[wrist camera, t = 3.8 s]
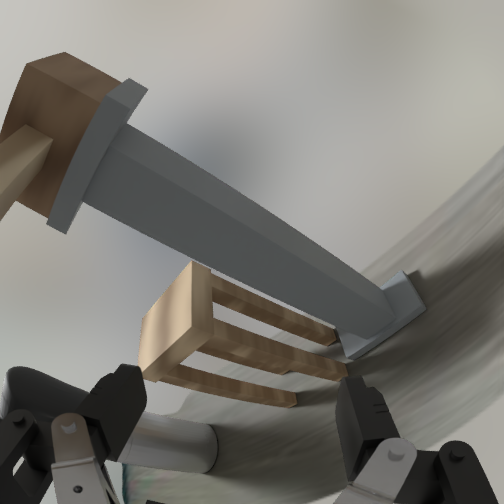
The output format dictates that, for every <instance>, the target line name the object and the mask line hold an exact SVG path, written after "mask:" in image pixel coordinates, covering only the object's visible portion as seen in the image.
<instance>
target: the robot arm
mask: <svg viewBox="0 0 504 504" xmlns="http://www.w3.org/2000/svg"><path fill="white" fill-rule="evenodd" d="M146 403H147V395H146V390H145V385H144V381H143V375H142V371H141V368H140V367H139V366H134V365H127V364H121V365H120V366H119V367H118V369H117V370H116V371H115V372H114V374H113V373H109V374H108V375H106V376H104V377H103V378H101V379H100V380H99V381H98V383H97V384H96V385H95V388H93V389H92V390H91V391H90V393H89V392H86V391H84V390H82V389H79V388H76V387H74V386H71V385H69V384H67V383H64V382H62V381H60V380H58V379H55V378H53V377H51V376H49V375H47V374H45V373H42V372H40V371H37V370H35V369H31V368H28V367H22V366H19V367H18V366H17V367H13V368H11V369H9V370H8V372H7V373H6V375H5V379H4V383H3V389H2V396H1V403H0V504H40V502H41V500H42V498H43V497H44V495H45V493H46V491H47V489H48V488H49V486H50V484H51V482H52V481H54V487H55V492H56V497H57V502H58V504H120V503H119V501H118V498H117V496H116V493H115V490H114V488H113V485H112V482H111V480H110V477H109V474H108V471H107V468H106V466H105V464H104V462H105V460H110V461H114V462H120V463H125V464H131V465H136V466H142V467H149V468H156V469H163V470H172V471H181V472H192V473H206V472H207V471H209V470H210V469H211V468H212V466H213V465H214V462H215V460H216V456H217V449H218V446H217V438H216V435H215V432H214V430H213V429H212V428H211V426H209V425H207V424H203V423H197V422H191V421H186V420H181V419H176V418H171V417H167V416H162V415H158V414H153V413H149V412H145V411H144V410H145V407H146ZM335 415H336V423H337V428H338V433H339V437H340V442H341V447H342V452H343V457H344V462H345V467H346V473H347V478H348V481H354V482H353V483H352V484H349V485H348V486H347V487H346V488H345V489H344V491H343V492H342V493H341V494H340V496H339V497H338V498H337V500H336V501H335V502H334V503H333V504H393V503H395V504H498V501H497V499H496V497H495V494H494V492H493V490H492V488H491V486H490V483H489V481H488V479H487V477H486V475H485V473H484V470H483V468H482V466H481V464H480V462H479V460H478V458H477V456H476V454H475V452H474V450H473V449H472V447H471V446H470V445H469V444H467V443H465V442H462V441H449V442H447V443H445V444H444V445H443V446H442V447H441V448H440V450H439V451H421V450H416V448H415V446H414V445H413V444H412V443H411V442H410V441H408V440H405V439H402V438H400V436H399V433H398V431H397V428H396V426H395V424H394V421H393V419H392V417H391V414H390V412H389V409H388V407H387V405H386V403H385V400H384V398H383V396H382V394H381V393H380V392H379V391H377V390H376V389H375V388H374V387H370V388H366V386H365V383H364V380H363V378H362V376H348V377H342V379H341V383H340V389H339V394H338V399H337V404H336V412H335ZM22 456H23V458H24V461H23V463H22V464H21V466H20V467H19V469H18V470H17V472H16V473H15V475H14V476H13V468H14V466H15V465H16V463H17V462H18V460H19V459H20V458H21V457H22ZM146 504H164V503H159V502H155V501H150V500H147V501H146Z"/></svg>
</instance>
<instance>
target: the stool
mask: <svg viewBox="0 0 504 504" xmlns="http://www.w3.org/2000/svg"><path fill="white" fill-rule="evenodd" d="M212 301H213V302H215V303H218V304H220V305H222V306H225V307H227V308H229V309H232V310H234V311H237V312H239V313H242V314H244V315H246V316H249V317H252V318H254V319H256V320H259V321H262V322H264V323H267V324H269V325H272V326H274V327H277V328H279V329H282V330H284V331H287V332H290V333H292V334H295V335H297V336H300V337H303V338H305V339H308V340H311V341H314V342H316V343H319V344H322V345H325V346H328V345H330V344H331V343H332V342H334V341H335V340H337V339H336V336H335V333H334V330H333V329H332V328H330V327H327V326H325V325H323V324H321V323H318V322H316V321H314V320H311V319H309V318H307V317H305V316H302V315H300V314H298V313H296V312H293V311H291V310H289V309H287V308H285V307H282V306H280V305H278V304H276V303H273V302H272V301H269V300H267V299H265V298H263V297H261V296H258V295H256V294H254V293H252V292H250V291H248V290H245V289H243V288H241V287H239V286H237V285H235V284H233V283H231V282H229V281H226V280H224V279H222V278H220V277H218V276H216V275H214V274H212V273H211V270H210V269H209V268H207V267H204V266H203V265H200V264H198V263H196V262H194V261H191V262H190V263H189V264H188V265H187V266H186V268H185V269H184V270H183V271H182V272H181V274H180V275H179V276H178V277H177V278H176V279H175V280H174V282H173V283H172V284H171V285H170V286H169V287H168V289H167V290H166V291H165V292H164V293H163V294H162V296H161V297H160V298H159V299H158V300H157V302H156V303H155V304H154V305H153V306H152V308H151V309H150V310H149V311H148V312H147V314H146V315H145V316H144V317H143V318H142V327H141V335H140V345H139V356H138V366H139V367H140V368H141V371H142V375H143V379H145V380H149V381H152V382H155V383H156V382H157V381H162V382H165V383H169V384H173V385H176V386H180V387H184V388H188V389H192V390H196V391H200V392H204V393H209V394H213V395H217V396H222V397H227V398H232V399H237V400H242V401H247V402H253V403H259V404H264V405H271V406H277V407H284V408H290V407H292V406H294V405H296V404H297V399H296V395H295V392H290V391H285V390H280V389H275V388H270V387H265V386H261V385H256V384H252V383H248V382H243V381H239V380H235V379H231V378H227V377H223V376H219V375H216V374H212V373H208V372H205V371H201V370H197V369H194V368H191V367H187V366H184V365H181V364H180V363H181V362H182V361H183V360H184V359H186V358H187V357H188V356H189V355H191V354H192V353H193V352H194V351H199V352H202V353H205V354H208V355H211V356H215V357H218V358H221V359H225V360H228V361H231V362H235V363H238V364H242V365H245V366H249V367H252V368H256V369H260V370H264V371H267V372H271V373H275V374H279V375H283V374H284V373H286V372H288V371H289V370H291V371H295V372H299V373H303V374H307V375H311V376H315V377H319V378H324V379H328V380H332V381H337V382H338V381H340V380H341V379H342V377H347V376H348V372H347V369H346V366H345V363H342V362H338V361H335V360H332V359H329V358H326V357H322V356H319V355H316V354H313V353H310V352H307V351H304V350H301V349H298V348H295V347H292V346H289V345H286V344H283V343H280V342H277V341H275V340H272V339H269V338H266V337H263V336H260V335H258V334H255V333H252V332H249V331H247V330H244V329H241V328H238V327H236V326H233V325H231V324H228V323H225V322H223V321H220V320H218V319H215V318H213V303H212Z"/></svg>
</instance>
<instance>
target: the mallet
mask: <svg viewBox="0 0 504 504" xmlns="http://www.w3.org/2000/svg"><path fill="white" fill-rule="evenodd" d="M120 84H121V82H120V81H118V80H116V79H114V78H112V77H111V76H109V75H107V74H105V73H104V72H102V71H100V70H98V69H96V68H95V67H93V66H91V65H89V64H87V63H85V62H83V61H81V60H79V59H77V58H76V57H74V56H72V55H70V54H68V53H66V52H63V53H59V54H56V55H52V56H49V57H46V58H42V59H39V60H36V61H33V62H30V63H27V64H26V66H25V68H24V70H23V72H22V75H21V77H20V80H19V82H18V84H17V87H16V90H15V92H14V95H13V97H12V100H11V103H10V105H9V108H8V112H7V114H6V117H5V120H4V124H3V126H2V130H1V133H0V221H1V219H2V218H3V217H4V215H5V214H6V213H7V211H8V210H9V209H10V207H11V206H12V205H13V203H14V202H15V201H18V202H19V203H21V204H23V205H25V206H26V207H28V208H30V209H32V210H34V211H35V212H37V213H39V214H41V215H43V216H45V217H47V218H49V215H50V212H51V209H52V207H53V204H54V201H55V199H56V196H57V194H58V191H59V189H60V186H61V184H62V181H63V179H64V176H65V174H66V172H67V169H68V167H69V165H70V163H71V160H72V158H73V156H74V154H75V152H76V150H77V148H78V146H79V143H80V141H81V139H82V137H83V135H84V133H85V131H86V129H87V128H88V126H89V124H90V122H91V120H92V118H93V116H94V114H95V113H96V111H97V109H98V107H99V105H100V104H101V102H102V100H103V98H104V97H105V95H106V94H107V93H109V92H110V91H111V90H113V89H114V88H116V87H117V86H118V85H120Z"/></svg>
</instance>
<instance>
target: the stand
mask: <svg viewBox="0 0 504 504" xmlns="http://www.w3.org/2000/svg"><path fill="white" fill-rule="evenodd" d="M147 91H148V89H147V88H145V87H144V86H142V85H140V84H138V83H137V82H135V81H133V80H132V79H130V78H129V79H127V80H126V81H124V82H123V83H121V84H120V85H118V86H117V87H116V88H114V89H113V90H111V91H110V92H109V93H107V94H106V95H105V97H104V98H103V100H102V102H101V104H100V105H99V107H98V109H97V111H96V113H95V114H94V116H93V118H92V120H91V122H90V124H89V126H88V128H87V129H86V131H85V133H84V135H83V137H82V139H81V141H80V143H79V146H78V148H77V150H76V152H75V154H74V156H73V158H72V160H71V163H70V165H69V167H68V169H67V172H66V174H65V176H64V179H63V181H62V184H61V186H60V189H59V191H58V194H57V196H56V199H55V201H54V204H53V207H52V209H51V212H50V215H49V218H48V221H47V223H46V224H47V225H49V226H51V227H53V228H54V229H56V230H58V231H60V232H62V233H64V234H66V233H67V231H68V229H69V227H70V225H71V223H72V221H73V220H74V218H75V216H76V214H77V212H78V210H79V208H80V206H81V204H82V203H83V202H85V203H86V204H88V205H90V206H92V207H94V208H95V209H97V210H99V211H101V212H103V213H105V214H107V215H109V216H111V217H112V218H114V219H116V220H118V221H120V222H122V223H124V224H126V225H128V226H130V227H132V228H134V229H136V230H137V231H139V232H141V233H143V234H145V235H147V236H149V237H151V238H153V239H155V240H157V241H159V242H161V243H163V244H165V245H167V246H169V247H171V248H173V249H175V250H177V251H179V252H181V253H183V254H185V255H187V256H189V257H191V258H193V259H195V260H197V261H199V262H201V263H203V264H205V265H207V266H209V267H211V268H213V269H215V270H217V271H219V272H221V273H223V274H225V275H227V276H229V277H232V278H234V279H236V280H238V281H240V282H242V283H244V284H246V285H248V286H250V287H252V288H254V289H257V290H259V291H261V292H263V293H265V294H267V295H269V296H271V297H273V298H276V299H278V300H280V301H282V302H284V303H286V304H288V305H290V306H293V307H295V308H297V309H299V310H301V311H303V312H306V313H308V314H310V315H312V316H314V317H317V318H319V319H321V320H323V321H325V322H328V323H330V324H332V325H334V326H335V327H336V329H337V332H338V335H339V338H340V341H341V344H342V347H343V349H344V352H345V355H346V358H348V359H351V360H355V359H357V358H358V357H360V356H362V355H363V354H365V353H366V352H368V351H369V350H371V349H372V348H374V347H375V346H377V345H378V344H380V343H381V342H383V341H384V340H385V339H387V338H388V337H390V336H391V335H393V334H394V333H395V332H397V331H398V330H400V329H401V328H402V327H404V326H405V325H406V324H408V323H409V322H410V321H412V320H413V319H414V318H416V317H417V316H418V315H420V314H421V313H422V312H424V311H425V310H426V309H427V308H426V307H425V305H424V303H423V301H422V300H421V298H420V296H419V294H418V293H417V291H416V289H415V287H414V286H413V284H412V282H411V281H410V279H409V277H408V276H407V274H405V273H404V272H403V271H402V270H400V271H399V272H398V273H397V274H396V275H394V276H393V277H392V278H391V279H390V280H388V281H387V282H386V283H385V284H383V285H382V286H381V287H380V288H379V287H378V286H376V285H375V284H373V283H372V282H371V281H369V280H368V279H366V278H365V277H364V276H362V275H361V274H359V273H358V272H356V271H355V270H354V269H352V268H351V267H350V266H348V265H347V264H345V263H344V262H342V261H341V260H340V259H338V258H337V257H335V256H334V255H332V254H331V253H330V252H328V251H327V250H325V249H324V248H322V247H321V246H319V245H318V244H317V243H315V242H314V241H312V240H311V239H309V238H308V237H306V236H305V235H303V234H302V233H300V232H299V231H297V230H296V229H294V228H293V227H291V226H290V225H288V224H287V223H286V222H284V221H282V220H281V219H279V218H278V217H277V216H275V215H274V214H272V213H270V212H269V211H268V210H266V209H264V208H263V207H261V206H260V205H258V204H257V203H255V202H254V201H252V200H250V199H249V198H247V197H246V196H244V195H243V194H241V193H240V192H238V191H237V190H235V189H233V188H232V187H231V186H229V185H227V184H226V183H224V182H223V181H221V180H219V179H217V178H216V177H215V176H213V175H211V174H210V173H208V172H207V171H205V170H204V169H202V168H200V167H199V166H197V165H195V164H194V163H192V162H191V161H189V160H187V159H186V158H184V157H182V156H181V155H179V154H178V153H176V152H174V151H173V150H171V149H169V148H168V147H166V146H164V145H163V144H161V143H159V142H158V141H156V140H154V139H153V138H151V137H149V136H147V135H146V134H144V133H142V132H141V131H139V130H137V129H136V128H134V127H132V126H131V125H129V124H127V121H128V120H129V118H130V116H131V115H132V113H133V112H134V110H135V109H136V107H137V106H138V104H139V103H140V101H141V99H142V98H143V96H144V95H145V94H146V92H147Z"/></svg>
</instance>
